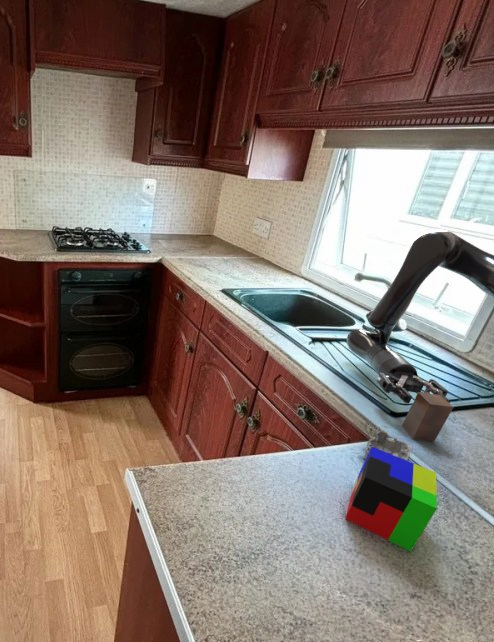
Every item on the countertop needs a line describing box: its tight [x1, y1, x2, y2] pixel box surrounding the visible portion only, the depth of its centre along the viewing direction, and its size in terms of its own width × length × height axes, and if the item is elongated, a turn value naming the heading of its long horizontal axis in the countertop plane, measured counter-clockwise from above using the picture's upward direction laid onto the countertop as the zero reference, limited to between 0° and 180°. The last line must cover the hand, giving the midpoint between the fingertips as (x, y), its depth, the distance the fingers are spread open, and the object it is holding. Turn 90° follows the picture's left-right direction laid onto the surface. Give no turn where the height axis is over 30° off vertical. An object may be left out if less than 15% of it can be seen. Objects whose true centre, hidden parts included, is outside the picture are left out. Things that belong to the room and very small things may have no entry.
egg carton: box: [362, 426, 413, 461], centre depth 87 cm, size 11×8×4 cm
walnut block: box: [401, 391, 454, 443], centre depth 95 cm, size 5×5×10 cm
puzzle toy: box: [344, 447, 438, 552], centre depth 71 cm, size 10×10×10 cm
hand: (427, 402), depth 95 cm, fingers open, 8 cm apart
